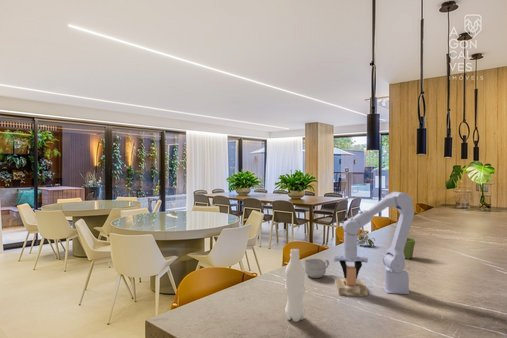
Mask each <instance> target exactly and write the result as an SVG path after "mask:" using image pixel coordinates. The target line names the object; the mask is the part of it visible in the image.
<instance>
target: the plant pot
mask: <svg viewBox="0 0 507 338" xmlns="http://www.w3.org/2000/svg"><path fill="white" fill-rule="evenodd" d="M416 241H417V239H416V238H412V237H407V241H406V244H405V247H404V251H403V252H404V255H405V258H407V259H406V260H409V259H410V258H412V259H413V256H414V249H415V245H416Z"/></svg>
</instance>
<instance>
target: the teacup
mask: <svg viewBox="0 0 507 338" xmlns="http://www.w3.org/2000/svg"><path fill="white" fill-rule="evenodd" d="M303 262H304V271H305V275H307V276H308V277H309V278H312V279H313V278H314V279H319V278H322V277H323V276H324V275H325V274H326V272H327V271H326V269H327V268H329V265H330V262H329V260H328V259H326V258H325V259H323V258H306V259H304V261H303Z"/></svg>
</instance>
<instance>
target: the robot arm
mask: <svg viewBox="0 0 507 338" xmlns="http://www.w3.org/2000/svg"><path fill="white" fill-rule="evenodd" d="M413 201H414V200H413V198H412V197H411V195H410V194H408V193H407V192H400V191H396V190H395V191H391V192H390V193H389V194H386V195H385V196H384V197H383V198H382V199H380V200H379V201H378V202H377V203H375V204H373V205H372V206H371V207H370V208H369V209H367V210H366V209H363V210H359V211H358V213H357V214H355V215H354V216H353V217H350V218H349V219H348V220H345V221H343V224H342V226H341V228H342V230H343V255H337V256H336V255H334V256H333V262H334V263H335V262H339V264H340V266H341V268H342V272H343V279H345V278H346V266H347V262H348V263H354V266H355V268H356V279H358V275H359V272H360V270H361V269H362V266H363V263H365V264H368V263H369V262H368V261H369V259H368V258H369V257H366V256H358V244H357V243H358V242H357V236H358V234H359V233H360V229H362V228H363V227H364V226H365V227H366V225H367V224H369V223H370V222H372V220H373V217H374V216H376V215H377V214H379V213H380V212H381V211H384V210H385V209H387V208H390V207H391V208H392V207H393V208H396V210H397V211H398V213H399V217H398V220H397V224H396V228H395V230H394V234H393V239H392V242H391V245H390V246H389V248H387V250H386V253H385V254H384V255H383V256H382V262H383V264H384V265H385V266H384V285H381V287H382V289H383V290H384V291H385V292H386V293H387V294H397V295H398V294H403V295H404V294H406V295H410V292H409V291H410V289H409V288H410V285H409V284H410V282H409V281H410V280H409V279H410V278H409V274H408V272H407V271H406V270H404V269H405V268H406V264H405V260H406V259H405V255H404V252H403V251H404V247H405V244H406V241H407V238H409V233H410V229H411V226H412V223H413V219H414V217H415V210H414V204H413Z"/></svg>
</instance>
